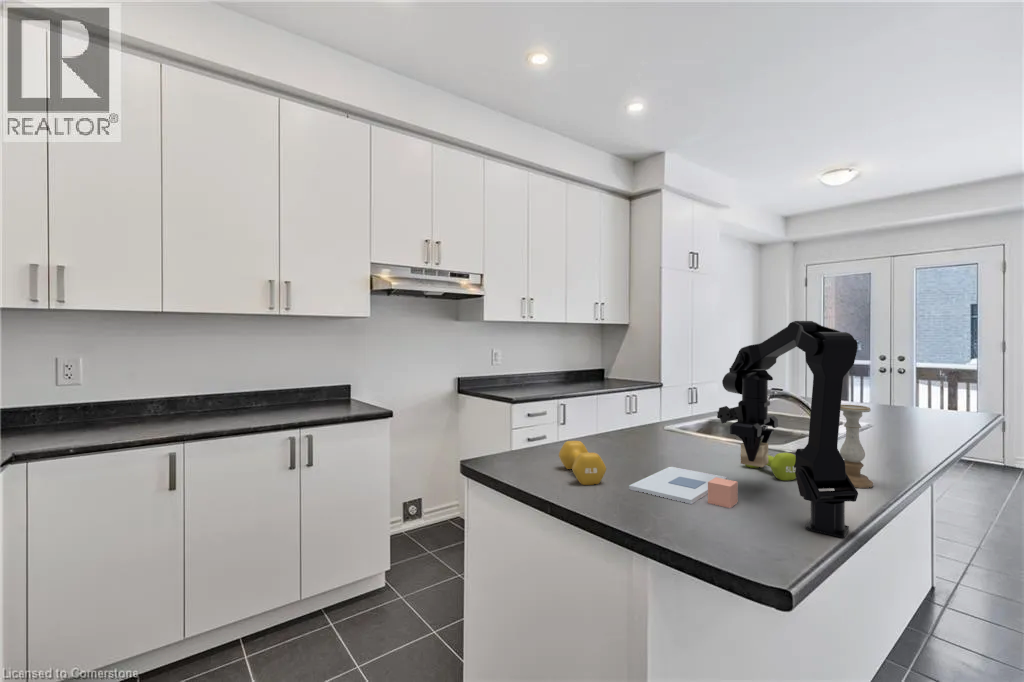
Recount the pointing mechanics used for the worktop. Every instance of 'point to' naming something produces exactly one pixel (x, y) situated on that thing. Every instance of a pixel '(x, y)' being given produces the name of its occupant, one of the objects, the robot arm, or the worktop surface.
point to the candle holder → (854, 446)
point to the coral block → (722, 492)
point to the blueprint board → (676, 484)
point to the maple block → (760, 458)
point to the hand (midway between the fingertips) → (754, 459)
